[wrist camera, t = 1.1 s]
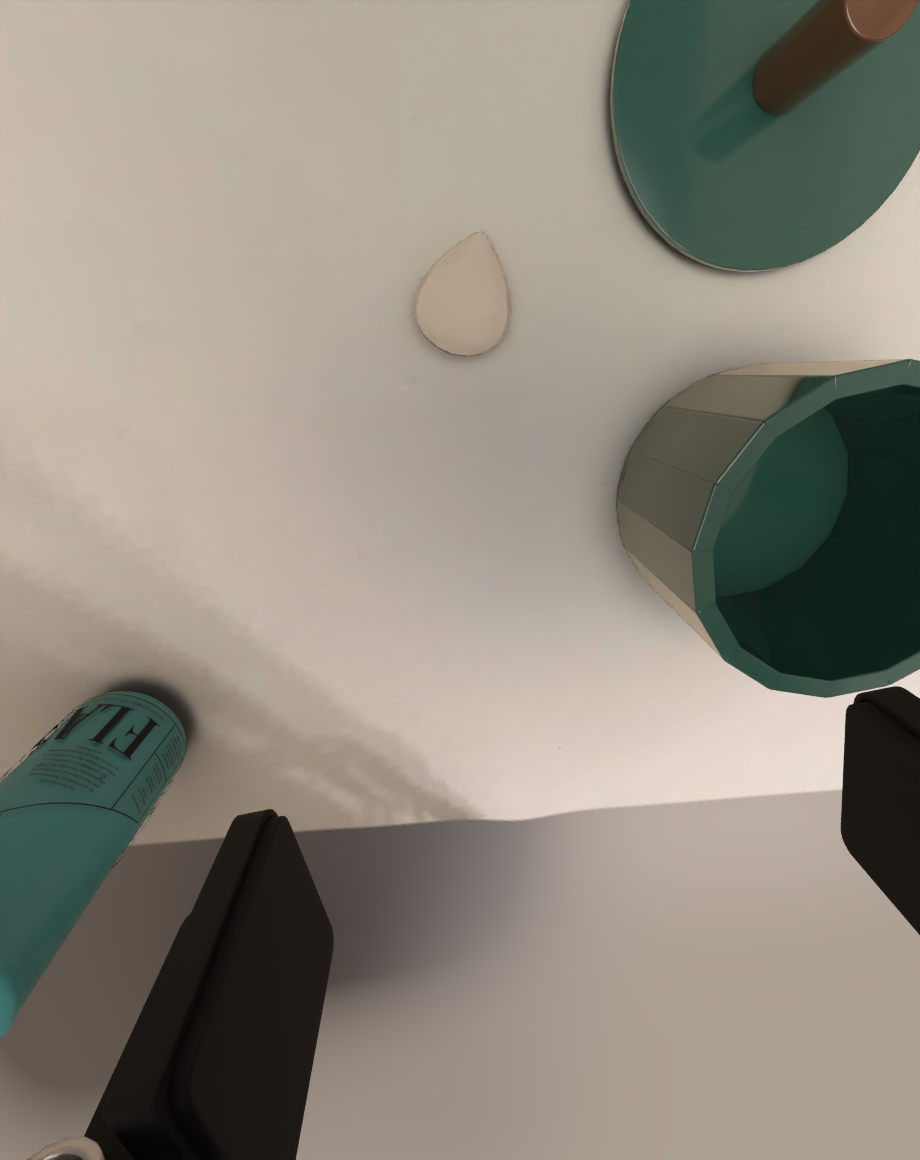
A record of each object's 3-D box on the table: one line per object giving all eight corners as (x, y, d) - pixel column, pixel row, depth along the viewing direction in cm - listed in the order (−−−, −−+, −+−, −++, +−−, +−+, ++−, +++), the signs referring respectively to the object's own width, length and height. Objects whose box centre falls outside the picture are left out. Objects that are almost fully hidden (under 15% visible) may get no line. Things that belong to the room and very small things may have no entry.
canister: (602, 398, 28) (681, 409, 19) (860, 339, 27) (1068, 323, 18) (629, 625, 32) (704, 723, 23) (852, 579, 31) (1016, 660, 22)
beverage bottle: (204, 681, 32) (-125, 1115, 13) (199, 775, 34) (-88, 1260, 16) (84, 664, 31) (-438, 1094, 13) (88, 760, 34) (-352, 1248, 15)
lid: (585, -82, 21) (645, -266, 15) (945, -175, 21) (1157, -404, 15) (624, 304, 26) (682, 283, 20) (918, 236, 26) (1072, 193, 19)
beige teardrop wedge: (406, 341, 26) (403, 338, 24) (433, 222, 25) (433, 206, 22) (494, 367, 27) (499, 367, 25) (526, 253, 25) (535, 240, 23)
